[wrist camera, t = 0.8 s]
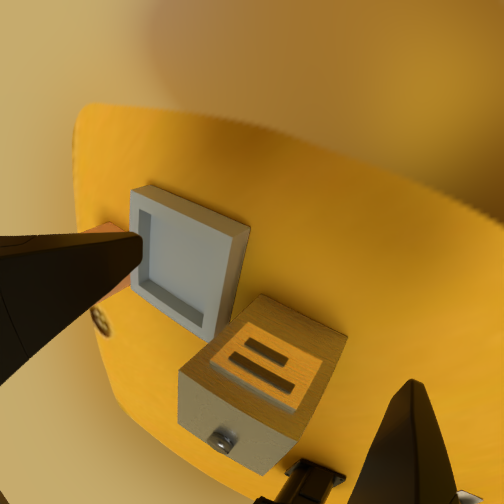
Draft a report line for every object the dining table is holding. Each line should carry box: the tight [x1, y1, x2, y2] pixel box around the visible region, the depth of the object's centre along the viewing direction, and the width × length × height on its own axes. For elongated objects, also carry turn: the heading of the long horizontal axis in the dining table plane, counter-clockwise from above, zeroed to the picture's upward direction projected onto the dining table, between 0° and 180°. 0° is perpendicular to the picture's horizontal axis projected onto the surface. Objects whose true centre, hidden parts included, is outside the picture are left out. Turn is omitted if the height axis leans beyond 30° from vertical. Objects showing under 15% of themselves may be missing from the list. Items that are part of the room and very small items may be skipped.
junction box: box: [178, 294, 348, 476], centre depth 17 cm, size 8×7×10 cm
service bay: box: [130, 185, 250, 343], centre depth 23 cm, size 10×10×2 cm
